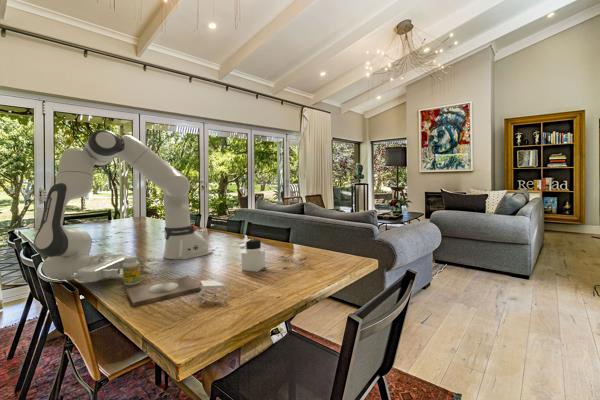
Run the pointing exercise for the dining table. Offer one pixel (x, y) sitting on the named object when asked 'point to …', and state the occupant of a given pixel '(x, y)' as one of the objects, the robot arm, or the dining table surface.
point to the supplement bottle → (131, 270)
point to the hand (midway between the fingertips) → (127, 267)
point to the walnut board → (161, 290)
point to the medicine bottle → (253, 256)
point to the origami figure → (211, 284)
